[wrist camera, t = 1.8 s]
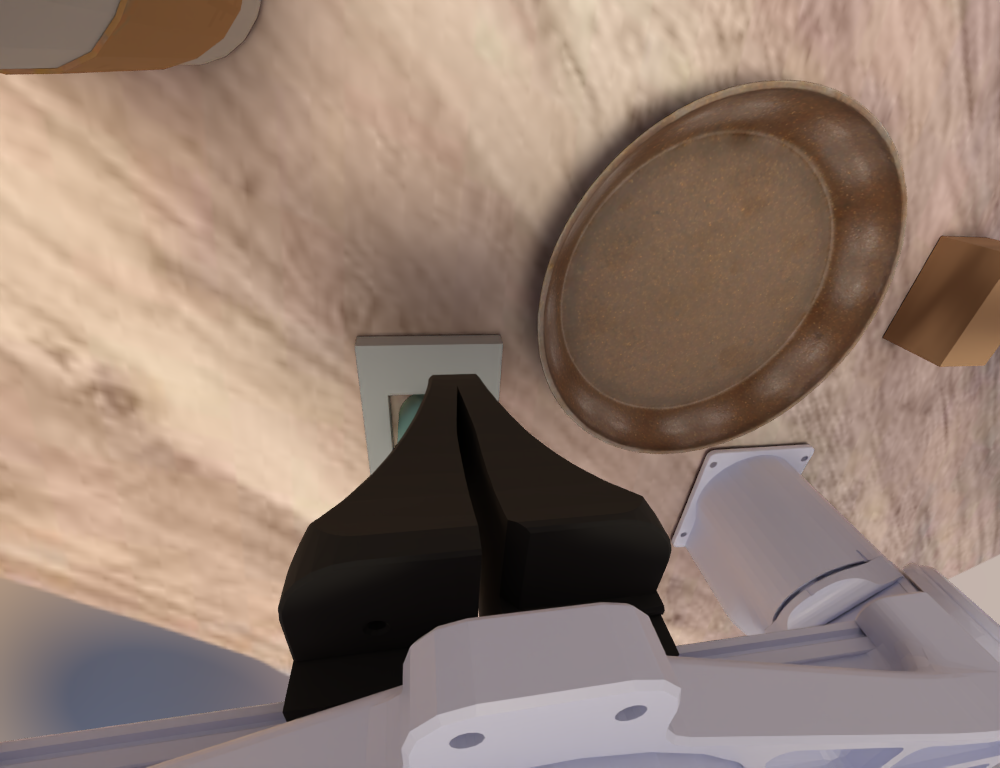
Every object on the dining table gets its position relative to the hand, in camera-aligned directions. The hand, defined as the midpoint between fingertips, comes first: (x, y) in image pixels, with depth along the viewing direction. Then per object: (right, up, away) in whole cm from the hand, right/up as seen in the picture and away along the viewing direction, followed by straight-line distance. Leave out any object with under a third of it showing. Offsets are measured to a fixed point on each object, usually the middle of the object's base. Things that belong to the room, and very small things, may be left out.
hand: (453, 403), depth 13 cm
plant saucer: (+11, +6, +11) cm, 16 cm away
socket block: (-2, -1, +12) cm, 12 cm away
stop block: (+26, +6, +13) cm, 30 cm away
